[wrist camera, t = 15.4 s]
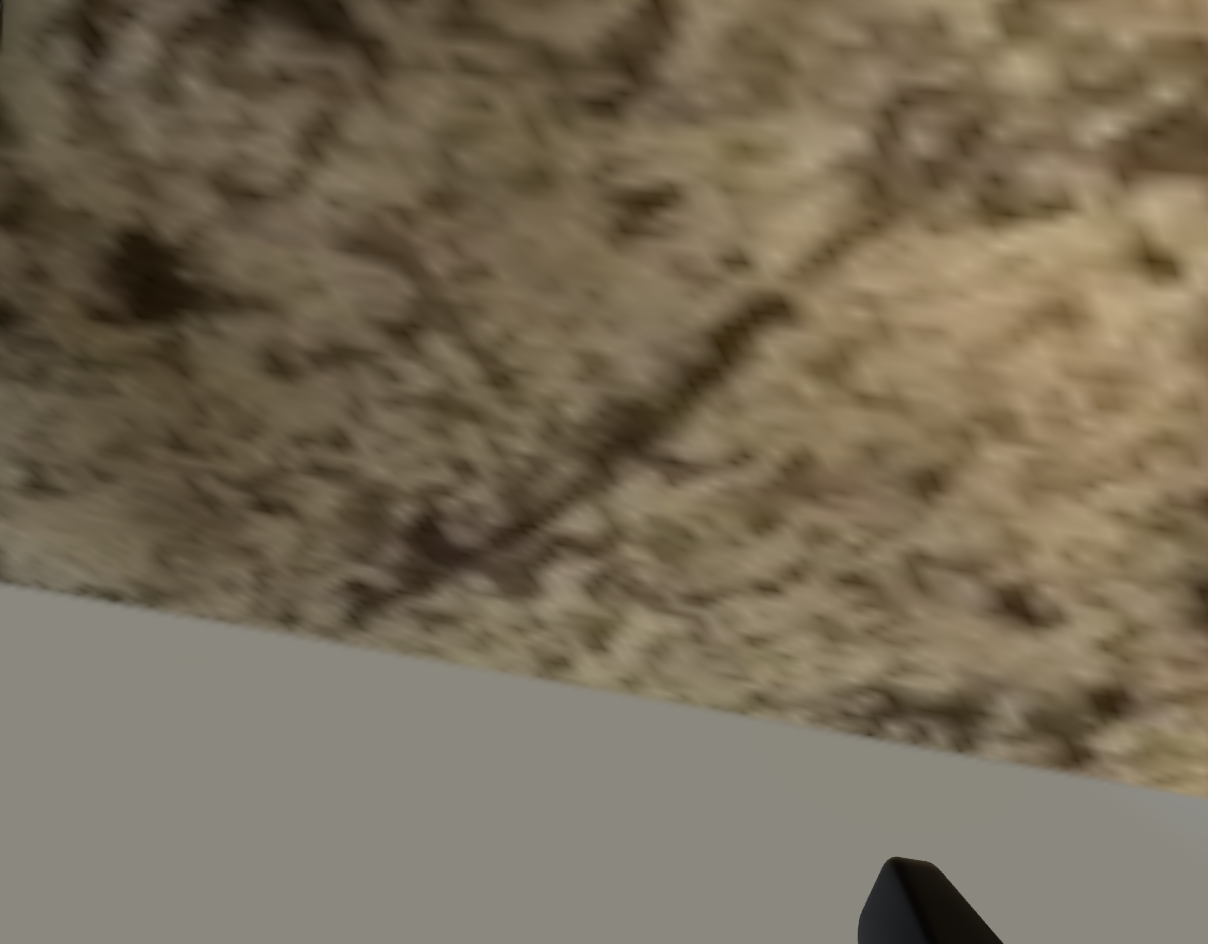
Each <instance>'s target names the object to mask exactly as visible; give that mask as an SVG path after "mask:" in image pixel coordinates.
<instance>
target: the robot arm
mask: <svg viewBox="0 0 1208 944" xmlns="http://www.w3.org/2000/svg"><path fill="white" fill-rule="evenodd" d="M858 944H1003V943H1002V941H1001V940H1000V939H999V938H998V937H997V936H996V935H995V933H994V932H993V931H992V930H991V929H990V928H989V927H988V925H987V924H986V923H985V922H984V921H983V919H982V918H981V917H980V916H979V915H978V914H977V912H976V911H975V910H974V909H973V908H972V907H971V905H970V904H969V903H968V902H967V901H966V900H965V898H964V897H963V896H962V895H961V894H960V893H959V892H958V890H957V889H956V888H955V887H954V886H953V885H952V883H951V882H950V881H949V880H948V879H947V878H946V876H945V875H944V874H943V873H942V872H941V871H940V870H939V869H938V868H937V867H936V866H935V865H933V864H932V863H930V862H927V861H920V860H914V859H907V858H901V857H892V858H890V859H889V860H887V861H886V862H885V864H884V865H883V867H882V869H881V871H880V874H879V876H878V878H877V880H876V882H875V884H874V886H873V889H872V891H871V893H870V895H869V897H868V899H867V901H866V904H865V906H864V908H863V910H862V913H861V915H860V919H859V926H858Z"/></svg>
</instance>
